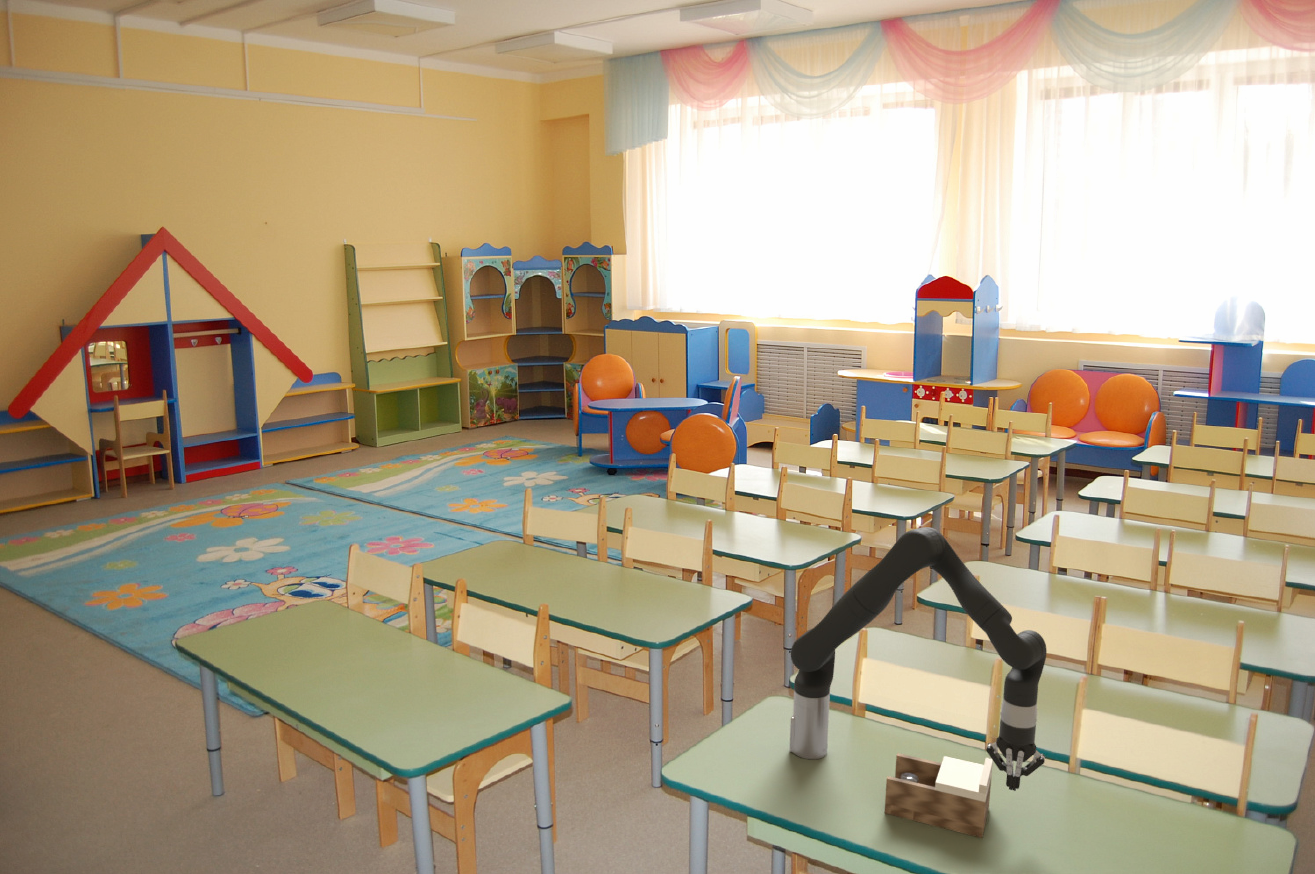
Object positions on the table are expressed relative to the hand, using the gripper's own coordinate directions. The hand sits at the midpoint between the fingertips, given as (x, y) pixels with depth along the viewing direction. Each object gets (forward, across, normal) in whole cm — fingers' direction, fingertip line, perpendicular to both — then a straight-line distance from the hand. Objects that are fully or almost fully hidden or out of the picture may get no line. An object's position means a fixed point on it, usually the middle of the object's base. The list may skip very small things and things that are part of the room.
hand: (1012, 788), depth 217 cm
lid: (+1, +11, 0) cm, 11 cm away
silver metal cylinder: (+10, +23, 0) cm, 25 cm away
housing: (+10, +16, 0) cm, 19 cm away
